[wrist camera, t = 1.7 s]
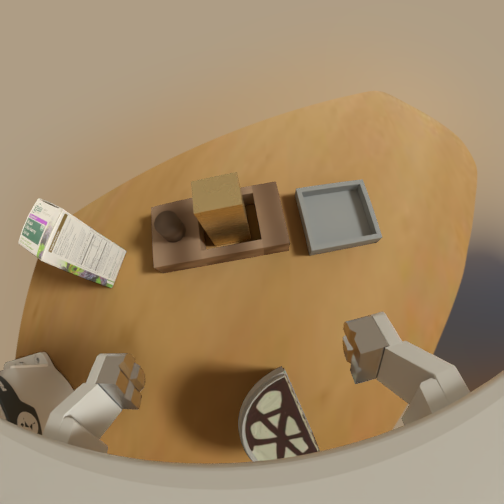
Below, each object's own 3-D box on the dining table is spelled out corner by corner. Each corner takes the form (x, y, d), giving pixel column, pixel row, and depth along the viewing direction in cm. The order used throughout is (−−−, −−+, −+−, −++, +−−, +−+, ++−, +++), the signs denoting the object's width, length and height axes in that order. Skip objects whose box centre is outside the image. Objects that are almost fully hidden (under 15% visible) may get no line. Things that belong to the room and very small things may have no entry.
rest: (309, 255, 33) (311, 250, 31) (295, 196, 35) (296, 188, 33) (376, 242, 32) (382, 237, 30) (358, 186, 35) (362, 179, 33)
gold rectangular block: (215, 246, 34) (193, 213, 24) (212, 220, 35) (191, 181, 25) (251, 239, 34) (242, 204, 24) (246, 214, 35) (236, 172, 25)
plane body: (163, 273, 33) (142, 261, 28) (159, 216, 36) (141, 197, 30) (288, 250, 33) (291, 233, 27) (275, 193, 35) (275, 168, 30)
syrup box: (86, 274, 34) (15, 245, 20) (100, 238, 36) (36, 196, 22) (113, 289, 33) (38, 263, 19) (128, 249, 35) (62, 206, 21)
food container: (230, 375, 29) (211, 394, 20) (279, 356, 30) (282, 369, 20) (269, 458, 26) (267, 500, 16) (316, 441, 26) (331, 479, 17)
